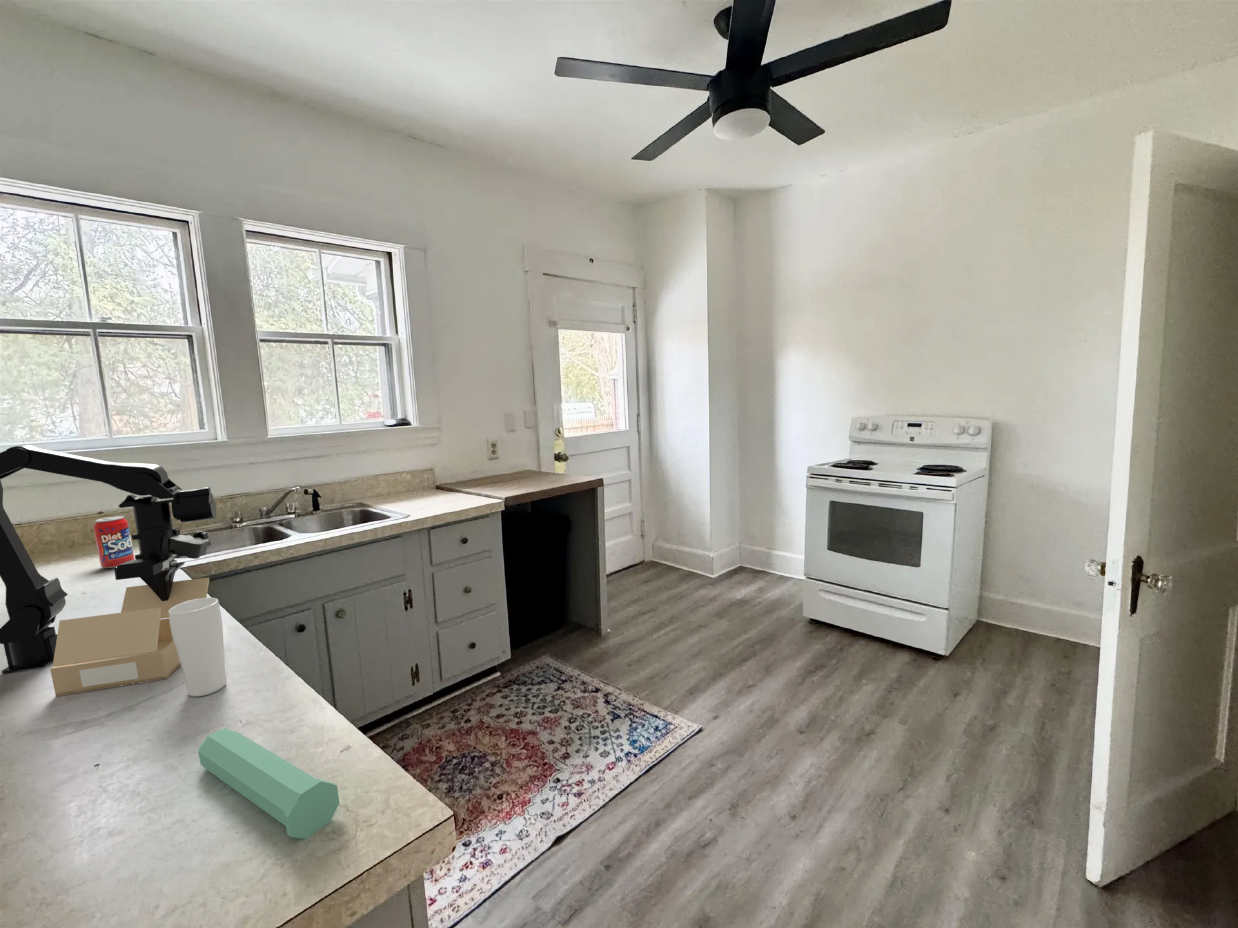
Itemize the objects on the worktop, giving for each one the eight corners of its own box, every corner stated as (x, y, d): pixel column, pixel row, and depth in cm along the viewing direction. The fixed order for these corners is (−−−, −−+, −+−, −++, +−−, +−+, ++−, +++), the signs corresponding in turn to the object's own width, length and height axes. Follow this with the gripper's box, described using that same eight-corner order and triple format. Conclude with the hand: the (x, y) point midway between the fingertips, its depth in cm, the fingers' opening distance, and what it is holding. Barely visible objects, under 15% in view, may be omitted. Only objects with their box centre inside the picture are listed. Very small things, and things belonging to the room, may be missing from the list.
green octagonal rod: (195, 724, 73) (294, 787, 60) (243, 718, 78) (345, 775, 64) (182, 772, 72) (280, 848, 58) (232, 763, 77) (333, 831, 63)
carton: (55, 697, 94) (49, 669, 93) (119, 649, 111) (114, 625, 110) (166, 679, 98) (161, 652, 97) (211, 635, 115) (207, 613, 114)
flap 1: (54, 666, 93) (52, 666, 93) (61, 620, 96) (59, 620, 95) (156, 651, 97) (155, 651, 96) (161, 607, 99) (159, 607, 99)
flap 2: (126, 587, 114) (127, 588, 114) (118, 623, 110) (119, 624, 111) (208, 577, 118) (209, 578, 118) (203, 612, 114) (204, 612, 115)
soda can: (114, 562, 174) (106, 516, 172) (141, 560, 175) (133, 514, 173) (94, 570, 166) (84, 522, 164) (122, 568, 167) (113, 520, 165)
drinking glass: (206, 701, 90) (191, 614, 87) (171, 699, 91) (156, 612, 89) (241, 679, 96) (228, 597, 94) (209, 677, 97) (196, 596, 95)
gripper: (176, 529, 106) (188, 609, 107) (220, 514, 124) (229, 582, 125) (107, 537, 103) (119, 618, 104) (162, 520, 121) (172, 589, 122)
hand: (165, 600), depth 114 cm, fingers closed, pressing on flap 2
